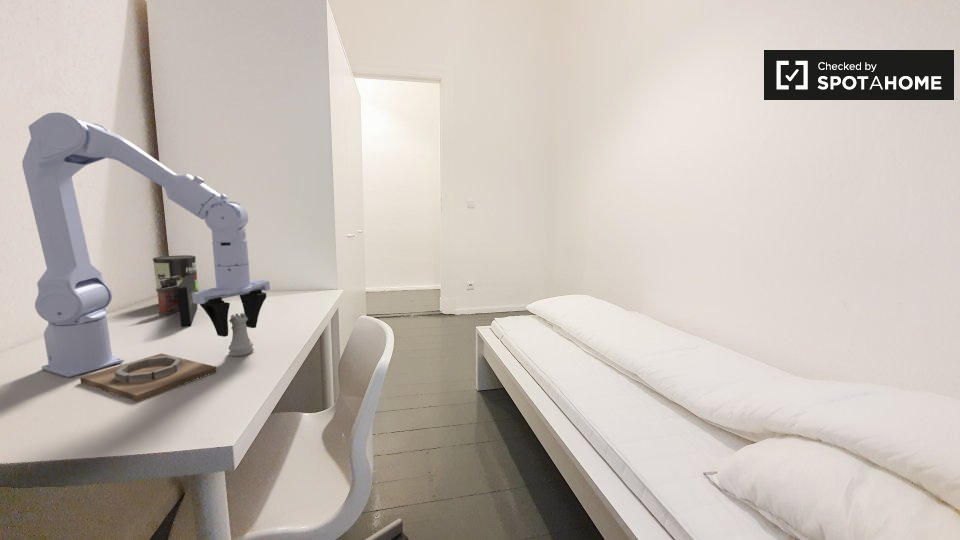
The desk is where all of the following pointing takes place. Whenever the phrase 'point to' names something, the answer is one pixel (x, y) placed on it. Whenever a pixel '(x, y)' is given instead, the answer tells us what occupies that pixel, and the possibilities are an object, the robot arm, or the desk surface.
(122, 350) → the desk surface
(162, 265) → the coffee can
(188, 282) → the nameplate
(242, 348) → the rook chess piece
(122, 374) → the socket board
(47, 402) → the desk surface
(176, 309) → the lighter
